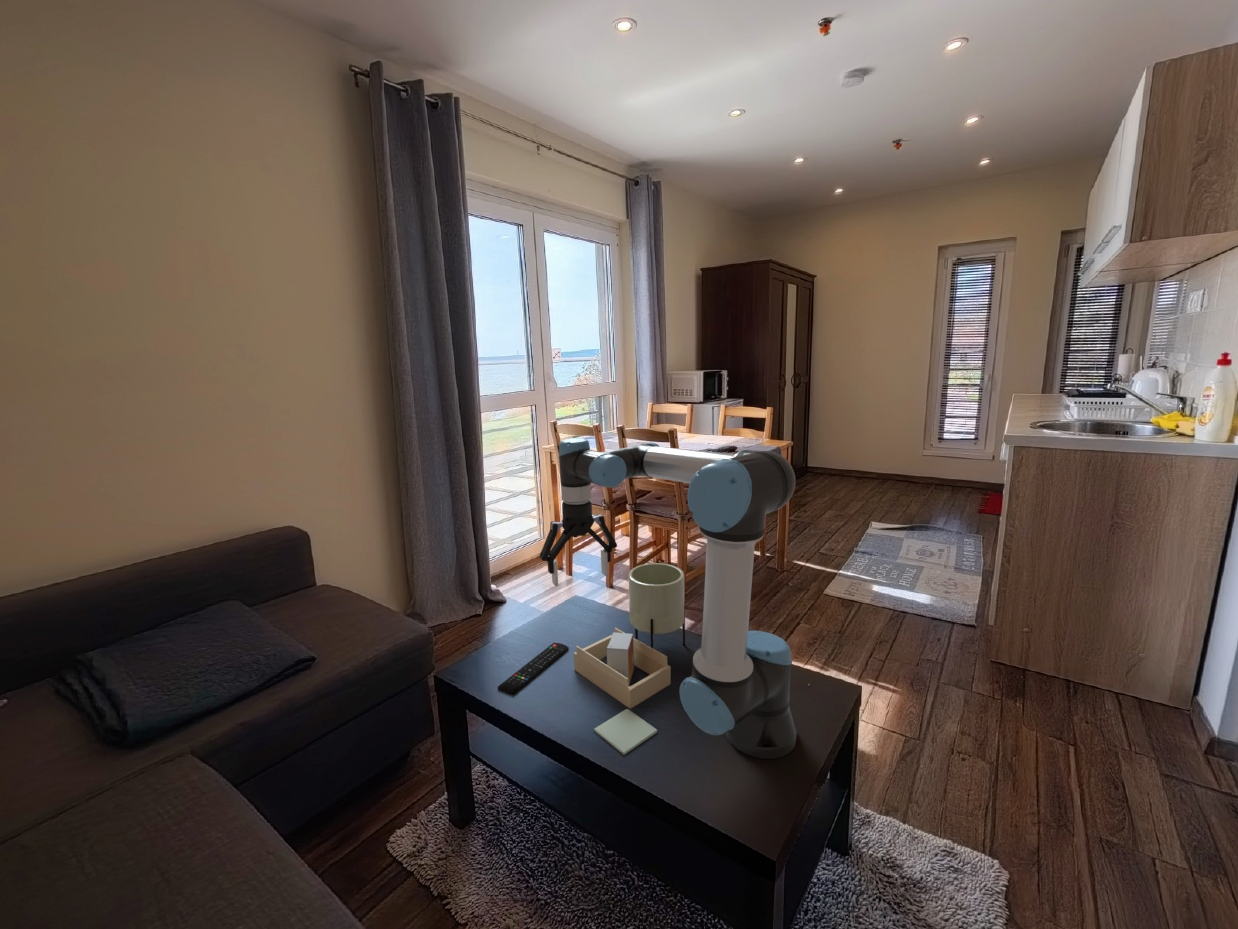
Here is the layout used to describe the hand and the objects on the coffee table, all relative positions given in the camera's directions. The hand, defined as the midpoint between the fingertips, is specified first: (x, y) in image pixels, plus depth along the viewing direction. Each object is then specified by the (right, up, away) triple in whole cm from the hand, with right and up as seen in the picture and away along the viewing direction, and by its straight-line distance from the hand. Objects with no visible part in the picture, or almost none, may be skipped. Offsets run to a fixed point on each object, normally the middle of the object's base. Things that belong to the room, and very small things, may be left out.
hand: (580, 579), depth 141 cm
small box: (+11, -26, +1) cm, 28 cm away
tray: (+11, -26, +1) cm, 28 cm away
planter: (+21, -23, +14) cm, 34 cm away
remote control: (-12, -26, +6) cm, 29 cm away
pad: (+11, -30, -19) cm, 37 cm away
